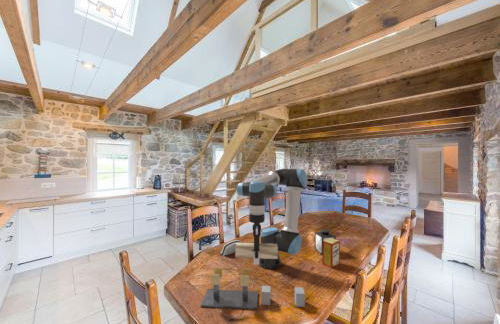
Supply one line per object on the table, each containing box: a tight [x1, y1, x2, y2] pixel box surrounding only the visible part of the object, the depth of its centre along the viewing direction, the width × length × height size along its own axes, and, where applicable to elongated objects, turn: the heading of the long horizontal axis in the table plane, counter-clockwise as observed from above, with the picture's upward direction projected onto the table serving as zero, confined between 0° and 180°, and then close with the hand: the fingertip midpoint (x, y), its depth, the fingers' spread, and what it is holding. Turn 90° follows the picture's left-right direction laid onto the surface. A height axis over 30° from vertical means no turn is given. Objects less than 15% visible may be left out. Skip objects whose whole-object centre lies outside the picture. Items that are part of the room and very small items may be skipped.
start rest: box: [261, 285, 306, 308], centre depth 99 cm, size 5×20×6 cm, turn 86°
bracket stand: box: [200, 267, 259, 311], centre depth 101 cm, size 12×26×14 cm, turn 86°
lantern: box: [314, 214, 337, 256], centre depth 159 cm, size 11×11×28 cm
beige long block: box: [235, 242, 279, 259], centre depth 100 cm, size 4×20×6 cm, turn 88°
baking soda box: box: [322, 238, 341, 269], centre depth 138 cm, size 10×6×16 cm
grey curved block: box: [219, 239, 243, 257], centre depth 156 cm, size 17×5×10 cm, turn 132°
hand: (256, 261), depth 100 cm, fingers closed on beige long block, 4 cm apart
